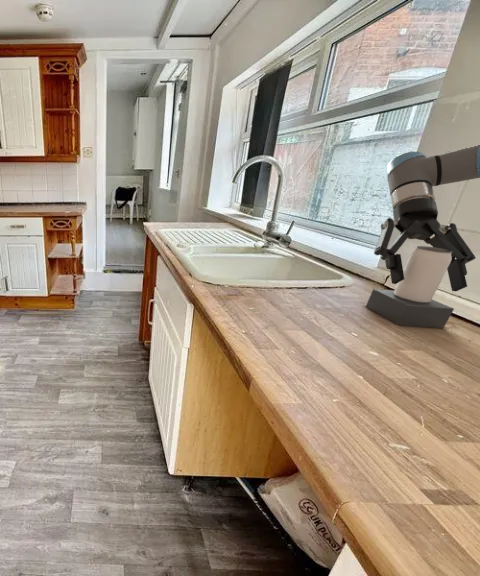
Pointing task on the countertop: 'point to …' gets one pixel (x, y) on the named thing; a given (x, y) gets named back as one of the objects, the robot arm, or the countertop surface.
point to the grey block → (408, 310)
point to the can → (423, 274)
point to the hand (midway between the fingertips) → (428, 285)
